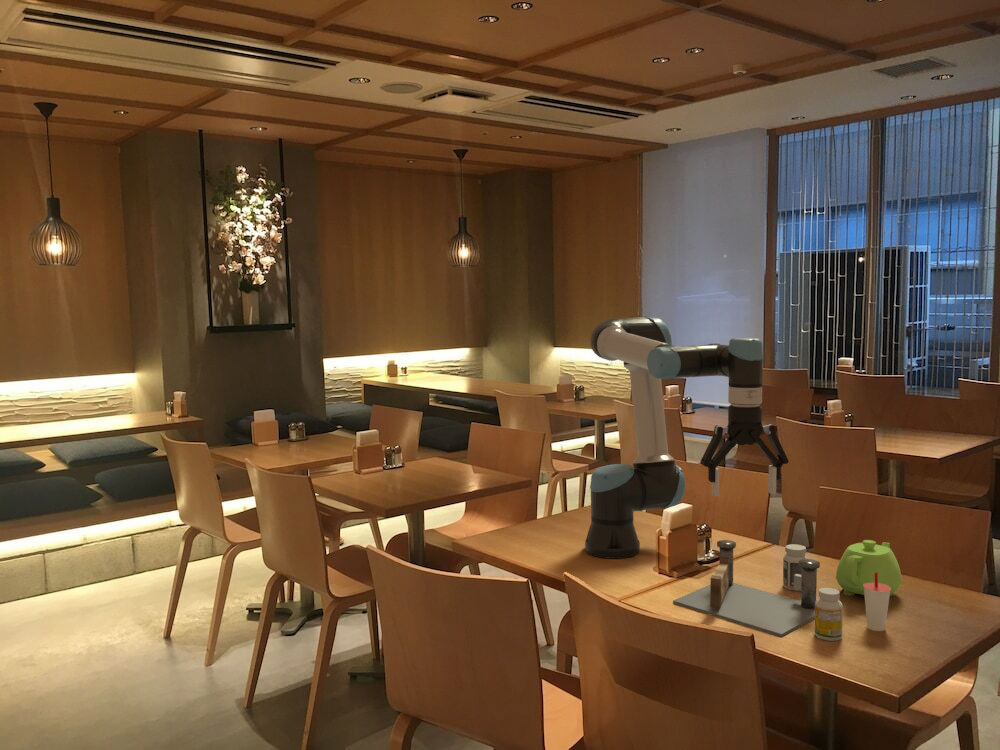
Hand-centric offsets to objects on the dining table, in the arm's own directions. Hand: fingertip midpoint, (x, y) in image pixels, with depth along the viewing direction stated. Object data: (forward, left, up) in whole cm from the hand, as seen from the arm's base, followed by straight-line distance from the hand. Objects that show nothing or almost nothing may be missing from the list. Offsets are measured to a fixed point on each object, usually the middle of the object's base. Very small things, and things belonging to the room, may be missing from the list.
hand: (743, 494), depth 196 cm
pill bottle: (+7, +12, -24) cm, 27 cm away
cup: (+31, +1, -24) cm, 39 cm away
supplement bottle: (+26, -10, -24) cm, 37 cm away
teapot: (+21, +20, -24) cm, 37 cm away
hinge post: (-5, +1, -23) cm, 24 cm away
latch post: (+15, +1, -23) cm, 28 cm away
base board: (+6, -7, -23) cm, 25 cm away
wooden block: (-1, -9, -22) cm, 24 cm away
